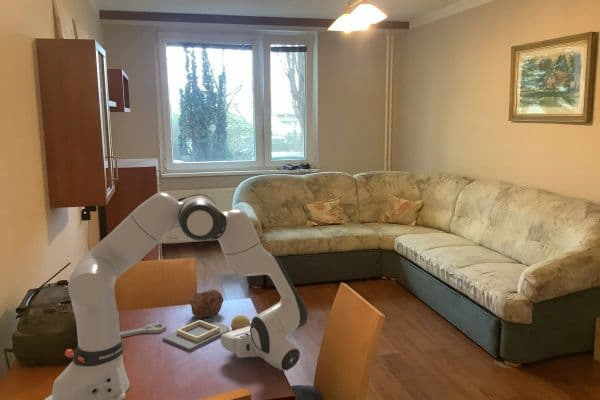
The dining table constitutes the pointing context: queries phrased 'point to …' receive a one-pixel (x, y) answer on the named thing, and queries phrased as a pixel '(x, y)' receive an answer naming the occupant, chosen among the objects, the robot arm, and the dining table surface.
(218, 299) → the decorative rock
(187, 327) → the board
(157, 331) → the adjustable wrench
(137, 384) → the dining table surface
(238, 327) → the light bulb
